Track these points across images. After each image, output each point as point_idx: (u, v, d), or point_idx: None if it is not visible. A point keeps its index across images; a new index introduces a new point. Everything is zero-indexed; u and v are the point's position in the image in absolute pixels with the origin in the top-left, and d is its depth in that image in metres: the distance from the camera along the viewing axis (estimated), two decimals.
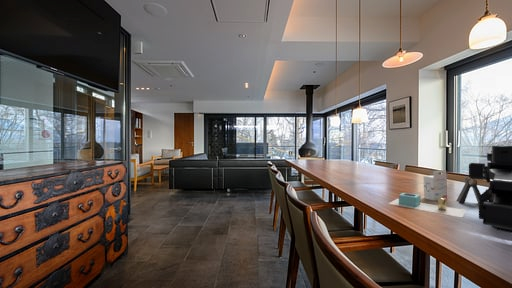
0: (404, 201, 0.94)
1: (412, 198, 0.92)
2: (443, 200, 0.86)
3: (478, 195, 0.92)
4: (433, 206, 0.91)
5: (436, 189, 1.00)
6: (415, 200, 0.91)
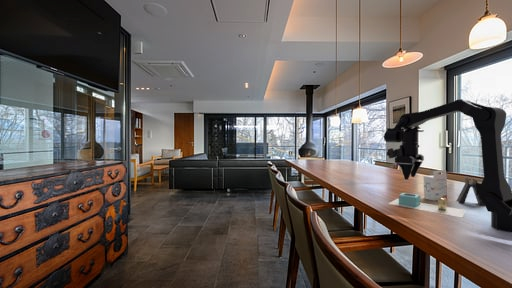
0: (404, 201, 0.94)
1: (412, 198, 0.92)
2: (443, 200, 0.86)
3: (478, 195, 0.92)
4: (433, 206, 0.91)
5: (436, 189, 1.00)
6: (415, 200, 0.91)
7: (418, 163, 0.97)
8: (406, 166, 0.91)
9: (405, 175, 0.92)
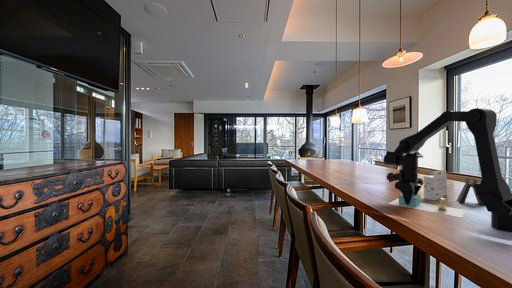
0: (404, 201, 0.94)
1: (412, 198, 0.92)
2: (443, 200, 0.86)
3: None
4: (433, 206, 0.91)
5: (436, 189, 1.00)
6: (415, 200, 0.91)
7: (417, 188, 0.96)
8: (407, 191, 0.92)
9: (406, 200, 0.93)
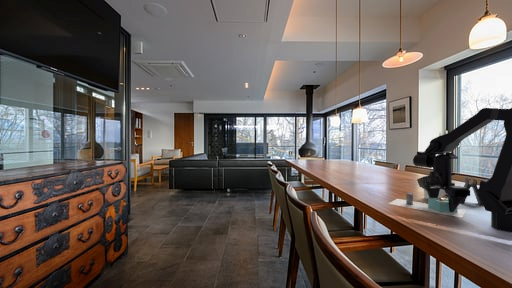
0: (445, 208, 0.84)
1: None
2: (443, 200, 0.86)
3: None
4: None
5: None
6: None
7: (437, 190, 0.92)
8: (455, 198, 0.81)
9: (452, 207, 0.82)
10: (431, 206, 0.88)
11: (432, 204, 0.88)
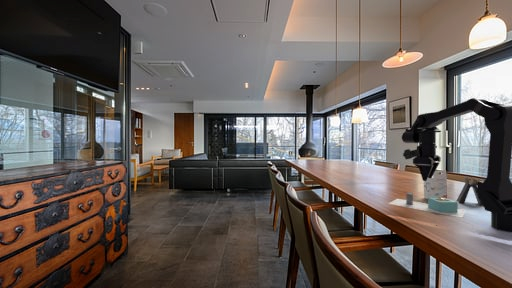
0: (445, 208, 0.84)
1: (453, 203, 0.83)
2: (443, 200, 0.86)
3: None
4: None
5: (436, 189, 1.00)
6: (456, 205, 0.83)
7: (435, 164, 0.95)
8: (424, 167, 0.89)
9: (423, 176, 0.90)
10: (431, 206, 0.88)
11: (432, 204, 0.88)
